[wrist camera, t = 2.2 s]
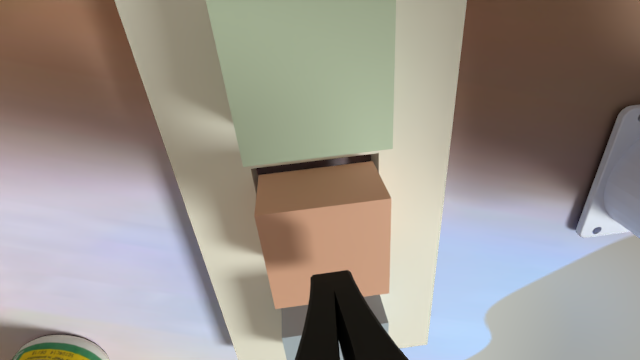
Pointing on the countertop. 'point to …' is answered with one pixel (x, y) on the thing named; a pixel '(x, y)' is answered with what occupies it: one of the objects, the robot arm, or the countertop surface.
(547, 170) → the countertop surface
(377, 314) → the slate button
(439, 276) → the countertop surface
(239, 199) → the panel
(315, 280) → the robot arm
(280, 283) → the terracotta button
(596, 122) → the countertop surface
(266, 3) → the sage button
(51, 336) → the supplement bottle
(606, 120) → the countertop surface
